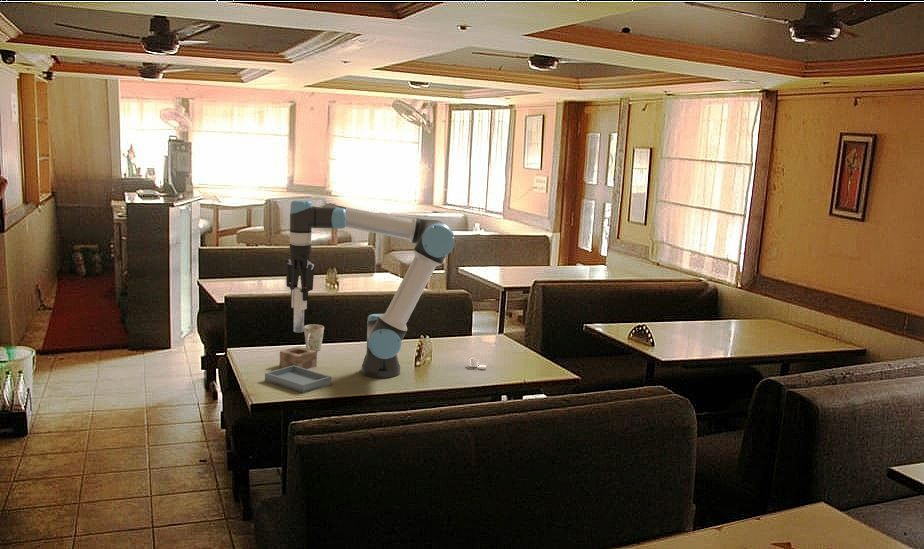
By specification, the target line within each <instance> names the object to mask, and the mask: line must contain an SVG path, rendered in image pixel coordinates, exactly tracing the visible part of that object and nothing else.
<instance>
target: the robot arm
mask: <svg viewBox="0 0 924 549" xmlns="http://www.w3.org/2000/svg"><path fill="white" fill-rule="evenodd" d="M289 210H290V211H289V243H290V244H289V255H290V258H289V259H285V260H284V263H285V268H286V269H285V270H286V271H285V273H286V274H285V275H286V277H285V278H286V281H285V282H286V287H287V288H289V290H290V299H291V309H294V288H295V287H299V286H298V285H299V278H300V287H302V291H300V310H304V311H305V310H307V308H308V306H307V305H308V300H309V292H310V291H313V290H314V276H315V275H314V274H315V269H316V263H312V262H311V259H310V256H311V255H312V245H311V243H312V228H313V229H316V228H317V229H333V230H338V229H339V230H340V229H345V228H347V229H353V230H358V231H363V232H368V233H374V234H378V235H384V236H387V237H388V236H389V237H395V238H398V239H404V240H408V242H409V243H412V244H415V246H414V248H413V253H414V256H413V258H412V261H411V263H410V265H409V266H408V269H407V271H406V272H405V275H404V276H403V278H402V280H401V282H400V285H399V286H398V288H397V290H396V292H395V293H394V296H393V298H392V299H391V301H390V304H389V305H388V307H387V309H386V311H385V312H384V313H372V314H369V315H368V316H367V321H366V324H367V325H366V326H367V327H366V328H367V329H366V330H367V331H366V351H365V352H366V354H365V356H364V358H363V362H362V364H361V370H360V371H361V374H363V375H364V376H367V377H370V378H371V377H372V378H379V379H381V378H393V377H396V376H399V375H400V374H401V365H400V362H399V358H398V354H399V352H400V350H401V348H402V342H403V339H404V337H405V335H406V334H407V331H408V327H407V323H408V321H409V319H410V317H411V315H412V313H413V311H414V309H415V308H416V305H417V304H418V302H419V300H420V297H421V296H422V294H423V292H424V290H425V288H426V286H427V284H428V283H429V280H430V279H431V277H432V275H433V273H434V271H435V269H436V267H438V266H441V265H442V264H443V263H444V261H445V258H446V257H447V256H448V255H449V254H450V253H451V252H452V251H453V249H454V246H455V236H454V232H453V230H452V229H451V228H450V227H449V226H448V225H446V223H444V222H443V221H441V220H437V219H427V218H425V219H424V218H419V217H418V218H417V217H414V218H413V219H412V218H411V219H409V218H404V217H400V216H399V217H398V216H394V215H389V214H384V213H378V212H372V211H368V210H363V209H359V208H358V209H357V208H354V207H347V206H342V205H337V204H336V203H326V204H324V205H323V206H314V205H313V202H312V201H311V200H308V199H307V200H305V199H296V200H294V199H293V201H291V202H290V209H289Z"/></svg>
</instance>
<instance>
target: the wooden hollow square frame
mask: <svg viewBox="0 0 924 549" xmlns="http://www.w3.org/2000/svg"><path fill="white" fill-rule="evenodd" d="M317 360H318V351H313V350H310V349H306V347H302V346H296V347H293V348H288V349H283V350H281V351H279V367H281V368H285V367H289V366H293V365H295V366H298V367H301V368H305V369H308V370H310V369H311V368H316V367H317V364H318V362H317Z"/></svg>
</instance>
